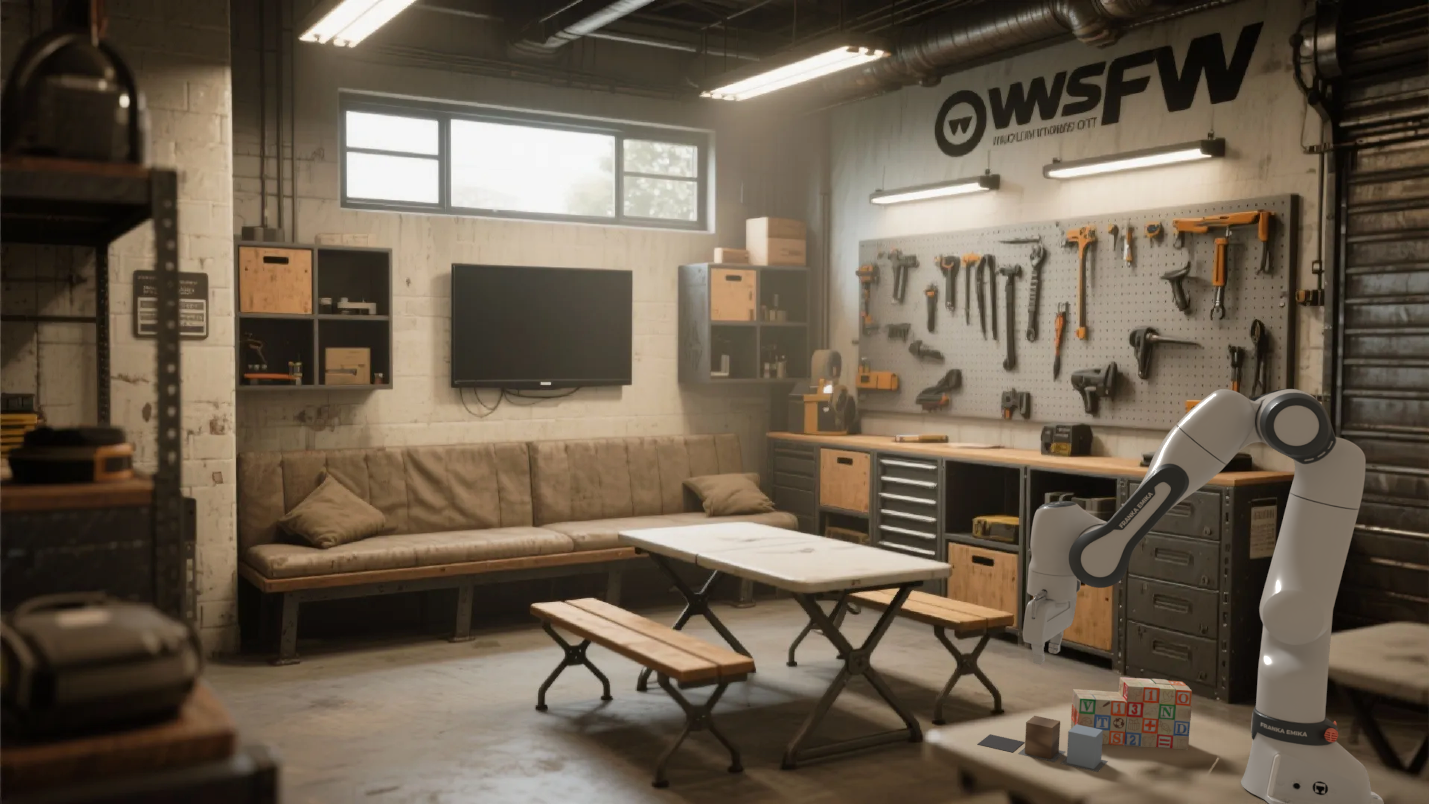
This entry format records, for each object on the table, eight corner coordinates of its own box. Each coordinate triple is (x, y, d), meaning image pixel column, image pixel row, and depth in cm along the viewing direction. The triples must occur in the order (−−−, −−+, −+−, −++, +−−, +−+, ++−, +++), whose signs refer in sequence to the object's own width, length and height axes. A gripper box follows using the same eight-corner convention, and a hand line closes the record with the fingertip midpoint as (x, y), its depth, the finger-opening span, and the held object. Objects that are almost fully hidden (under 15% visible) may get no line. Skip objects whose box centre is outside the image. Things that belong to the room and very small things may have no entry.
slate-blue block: (1101, 761, 221) (1102, 729, 220) (1093, 769, 216) (1095, 737, 216) (1074, 755, 223) (1076, 724, 223) (1066, 762, 219) (1068, 731, 219)
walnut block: (1058, 751, 225) (1060, 721, 225) (1050, 759, 221) (1052, 727, 220) (1033, 746, 228) (1034, 715, 227) (1024, 753, 223) (1026, 722, 223)
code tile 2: (1107, 762, 221) (1108, 760, 221) (1097, 773, 215) (1097, 772, 215) (1070, 754, 225) (1070, 752, 225) (1059, 765, 219) (1059, 763, 219)
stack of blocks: (1076, 744, 231) (1079, 683, 230) (1069, 733, 237) (1073, 673, 236) (1189, 751, 229) (1192, 689, 228) (1179, 740, 235) (1183, 680, 234)
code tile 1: (1065, 753, 225) (1065, 751, 225) (1054, 763, 219) (1054, 762, 219) (1029, 745, 229) (1029, 743, 229) (1017, 755, 223) (1017, 753, 223)
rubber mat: (1024, 743, 230) (1024, 741, 230) (1012, 754, 224) (1012, 752, 224) (989, 736, 233) (990, 734, 233) (977, 746, 228) (977, 744, 228)
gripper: (1051, 598, 212) (1045, 673, 213) (1083, 580, 229) (1078, 650, 230) (1017, 592, 215) (1011, 666, 216) (1051, 575, 232) (1046, 643, 233)
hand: (1046, 657), depth 223 cm, fingers open, 8 cm apart
